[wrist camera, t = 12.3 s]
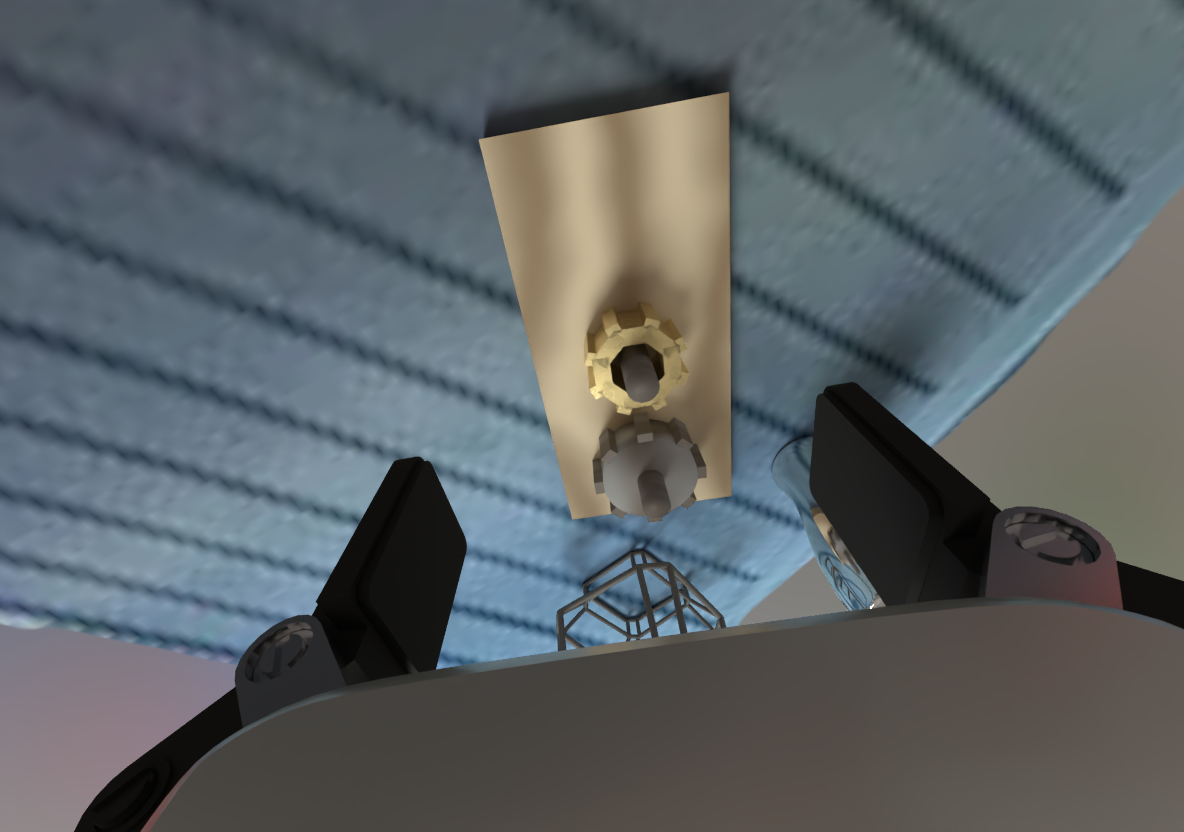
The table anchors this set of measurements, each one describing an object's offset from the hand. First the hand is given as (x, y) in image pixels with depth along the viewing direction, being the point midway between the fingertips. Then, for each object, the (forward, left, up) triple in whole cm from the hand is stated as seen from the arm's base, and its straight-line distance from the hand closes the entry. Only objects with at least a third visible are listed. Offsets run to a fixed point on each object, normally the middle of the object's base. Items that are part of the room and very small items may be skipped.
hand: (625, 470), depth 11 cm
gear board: (-2, +6, -23) cm, 24 cm away
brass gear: (-2, +6, -21) cm, 22 cm away
